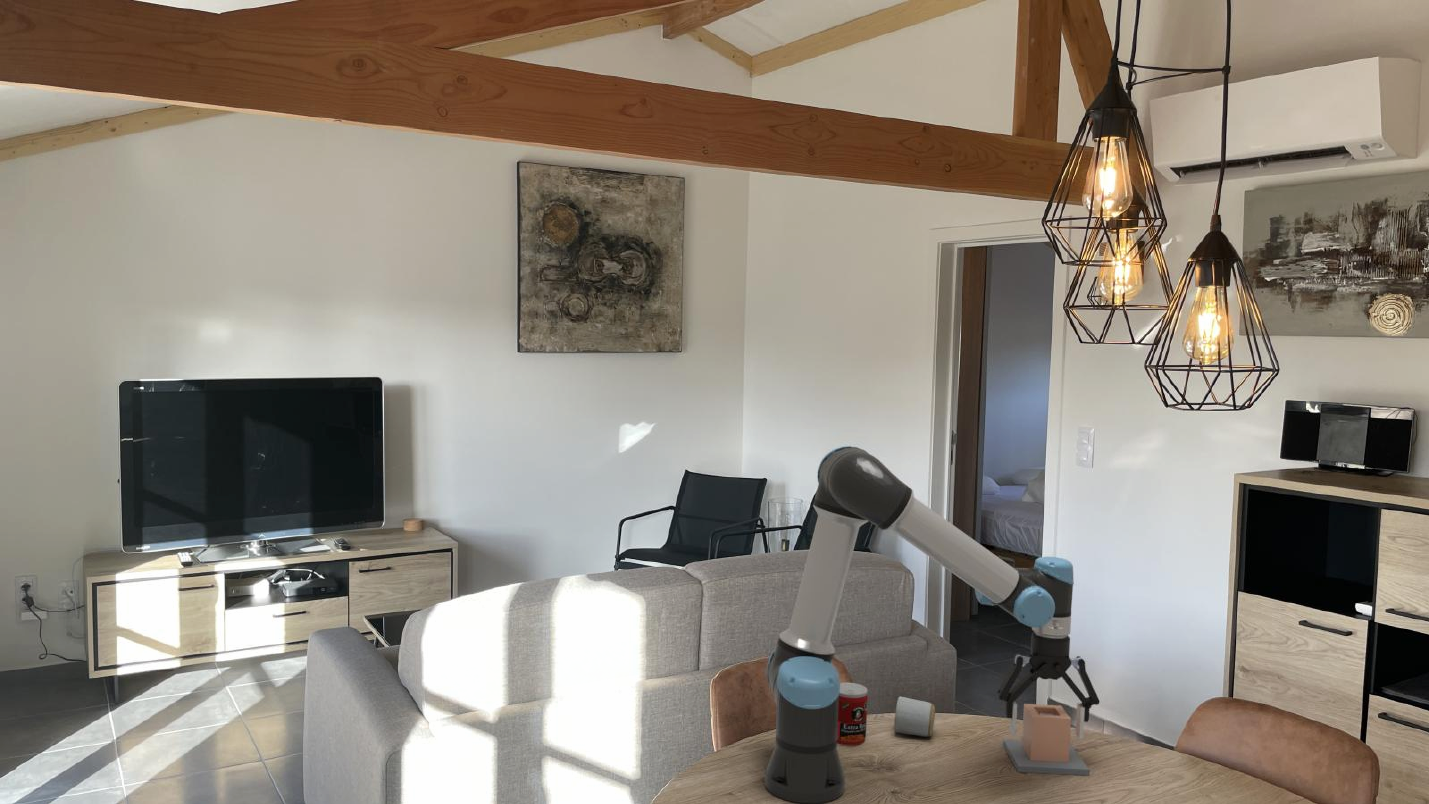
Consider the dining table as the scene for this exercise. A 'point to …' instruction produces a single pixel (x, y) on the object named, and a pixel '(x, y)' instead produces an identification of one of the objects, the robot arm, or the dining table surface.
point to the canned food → (852, 714)
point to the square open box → (1046, 733)
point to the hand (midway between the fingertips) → (1045, 734)
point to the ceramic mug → (914, 717)
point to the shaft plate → (1027, 765)
